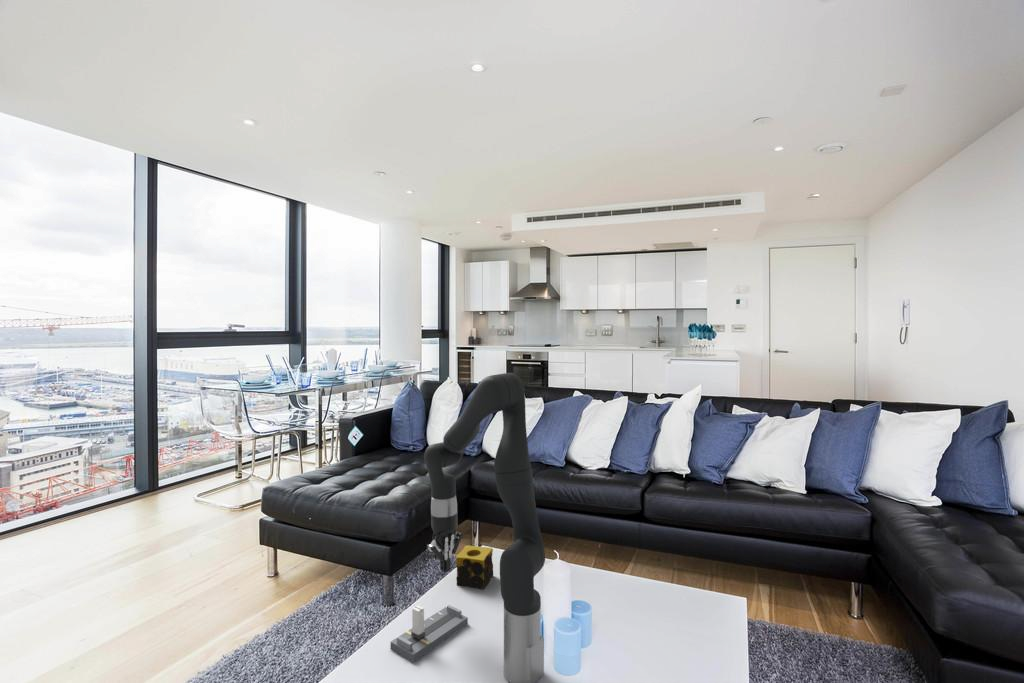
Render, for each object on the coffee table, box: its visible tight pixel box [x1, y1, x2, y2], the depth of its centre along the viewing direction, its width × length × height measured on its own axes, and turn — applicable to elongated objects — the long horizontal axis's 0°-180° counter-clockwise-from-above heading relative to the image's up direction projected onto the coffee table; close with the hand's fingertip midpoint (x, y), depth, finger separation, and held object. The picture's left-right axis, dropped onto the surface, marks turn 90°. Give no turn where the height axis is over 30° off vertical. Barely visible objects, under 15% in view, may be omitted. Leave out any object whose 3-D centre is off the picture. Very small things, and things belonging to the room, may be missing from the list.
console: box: [390, 604, 469, 663], centre depth 141 cm, size 9×21×4 cm, turn 143°
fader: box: [411, 605, 425, 639], centre depth 138 cm, size 3×2×8 cm
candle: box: [455, 545, 494, 590], centre depth 172 cm, size 10×10×10 cm
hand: (445, 570), depth 146 cm, fingers closed
